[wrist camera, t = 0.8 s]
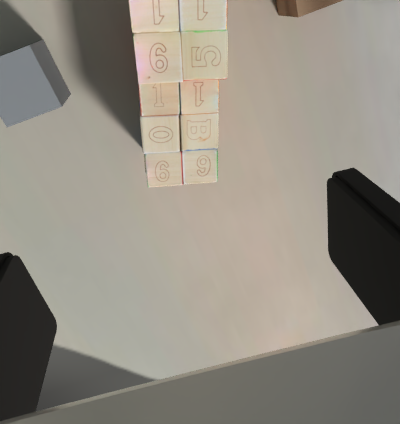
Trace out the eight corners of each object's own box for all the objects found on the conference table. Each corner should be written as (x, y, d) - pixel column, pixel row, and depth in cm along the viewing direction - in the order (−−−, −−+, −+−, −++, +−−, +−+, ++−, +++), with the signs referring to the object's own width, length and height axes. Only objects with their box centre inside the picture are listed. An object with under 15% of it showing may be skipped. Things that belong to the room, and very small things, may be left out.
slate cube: (43, 39, 33) (29, 45, 28) (70, 93, 35) (61, 106, 31) (-9, 59, 33) (-31, 68, 28) (22, 111, 35) (7, 127, 31)
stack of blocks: (201, 147, 40) (225, 200, 29) (143, 151, 39) (145, 206, 28) (200, -109, 29) (237, -172, 19) (120, -112, 28) (111, -179, 18)
